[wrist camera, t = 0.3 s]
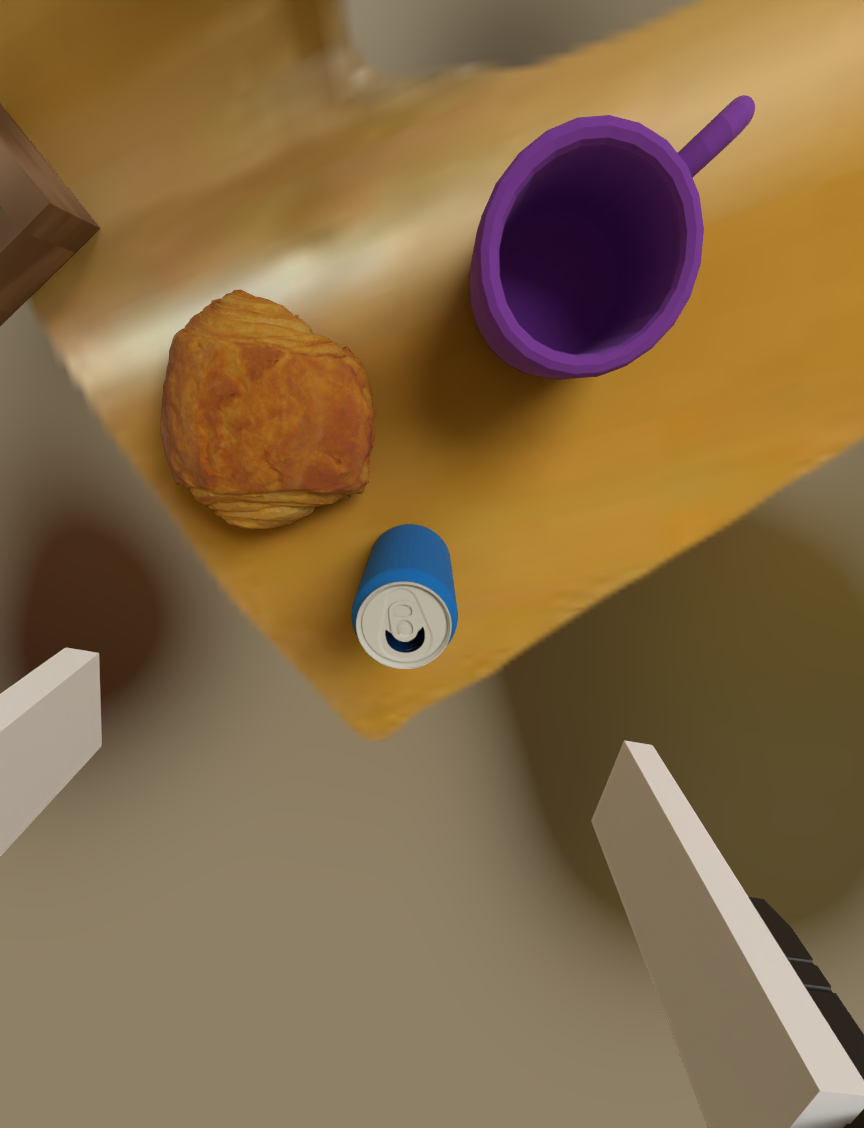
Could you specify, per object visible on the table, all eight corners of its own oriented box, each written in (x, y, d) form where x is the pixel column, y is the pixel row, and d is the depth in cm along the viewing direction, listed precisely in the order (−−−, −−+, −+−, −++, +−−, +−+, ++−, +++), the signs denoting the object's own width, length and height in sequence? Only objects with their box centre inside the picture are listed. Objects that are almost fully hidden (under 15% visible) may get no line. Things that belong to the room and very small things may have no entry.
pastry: (192, 490, 40) (134, 527, 33) (193, 275, 33) (119, 264, 26) (365, 530, 41) (345, 575, 34) (402, 329, 34) (386, 333, 27)
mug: (530, 415, 36) (567, 424, 27) (428, 285, 33) (428, 243, 24) (737, 233, 32) (866, 167, 23) (642, 68, 29) (744, -85, 20)
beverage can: (375, 599, 41) (356, 679, 29) (366, 525, 39) (340, 580, 27) (452, 593, 41) (462, 671, 29) (447, 518, 39) (455, 571, 27)
